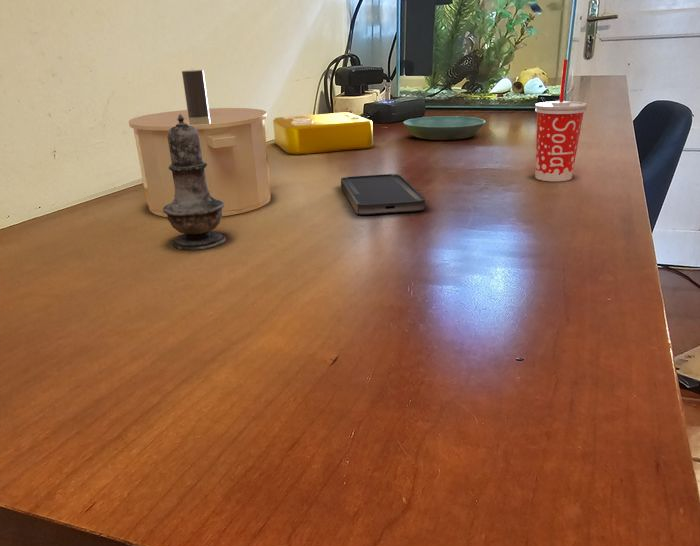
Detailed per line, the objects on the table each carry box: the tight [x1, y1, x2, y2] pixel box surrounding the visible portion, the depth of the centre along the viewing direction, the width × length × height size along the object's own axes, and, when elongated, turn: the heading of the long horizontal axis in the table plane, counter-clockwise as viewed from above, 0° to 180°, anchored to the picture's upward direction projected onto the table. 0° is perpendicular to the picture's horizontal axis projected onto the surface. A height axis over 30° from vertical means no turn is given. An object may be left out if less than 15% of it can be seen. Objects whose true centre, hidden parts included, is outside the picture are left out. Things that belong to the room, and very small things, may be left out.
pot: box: [132, 119, 272, 218], centre depth 76 cm, size 15×20×10 cm
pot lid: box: [128, 69, 268, 131], centre depth 73 cm, size 16×16×6 cm
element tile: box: [272, 112, 374, 156], centre depth 112 cm, size 15×15×5 cm
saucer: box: [403, 115, 486, 141], centre depth 116 cm, size 15×15×3 cm
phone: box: [340, 173, 426, 216], centre depth 76 cm, size 8×1×15 cm
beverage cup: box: [534, 59, 588, 182], centre depth 80 cm, size 6×6×14 cm
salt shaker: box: [163, 114, 227, 251], centre depth 61 cm, size 6×6×12 cm
